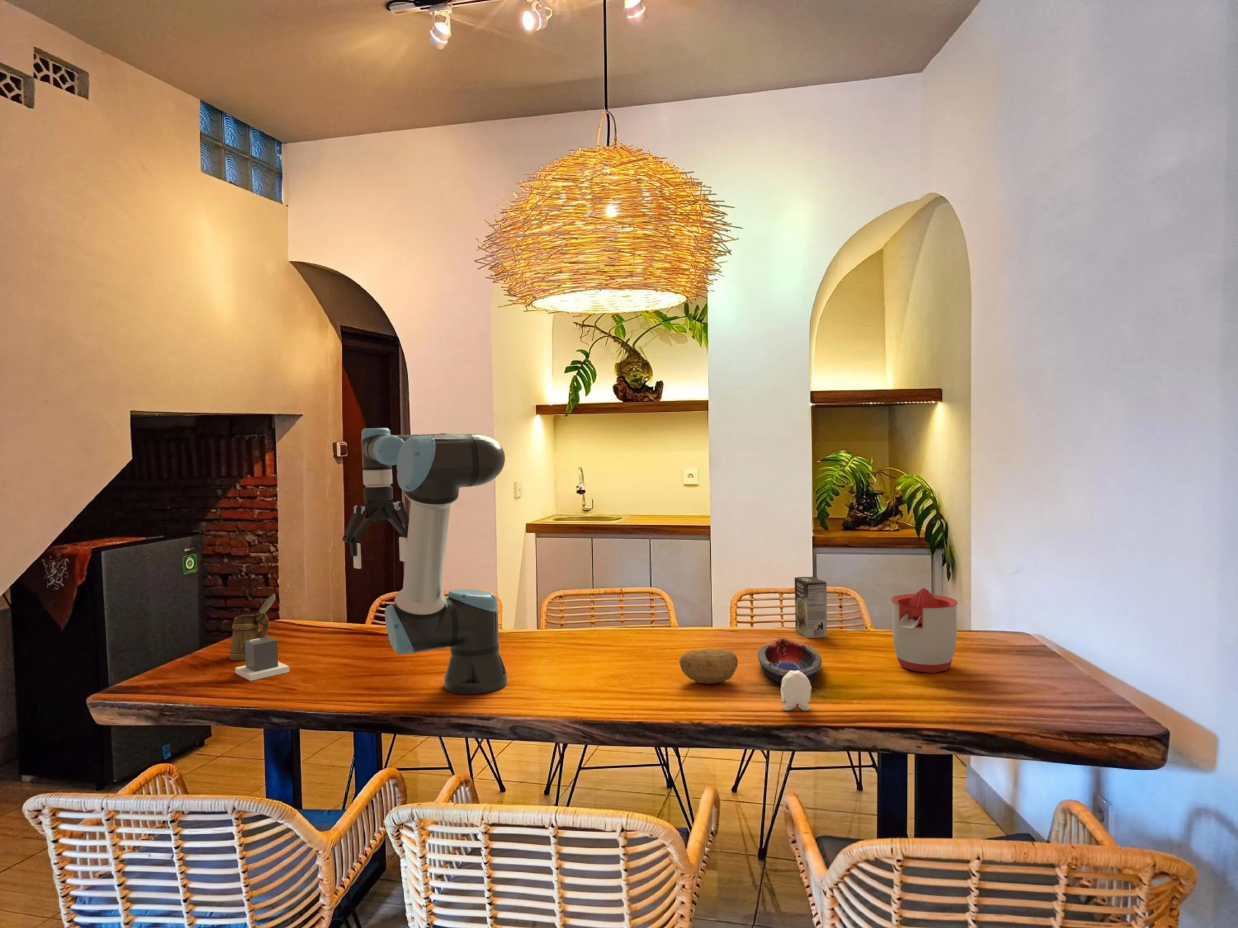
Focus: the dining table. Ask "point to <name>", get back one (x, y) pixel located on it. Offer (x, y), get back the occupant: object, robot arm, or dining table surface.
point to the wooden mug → (249, 629)
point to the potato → (709, 665)
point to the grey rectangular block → (261, 654)
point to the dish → (788, 659)
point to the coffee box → (811, 607)
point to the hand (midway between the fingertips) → (381, 564)
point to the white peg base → (261, 672)
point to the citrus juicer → (924, 631)
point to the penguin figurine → (795, 690)
